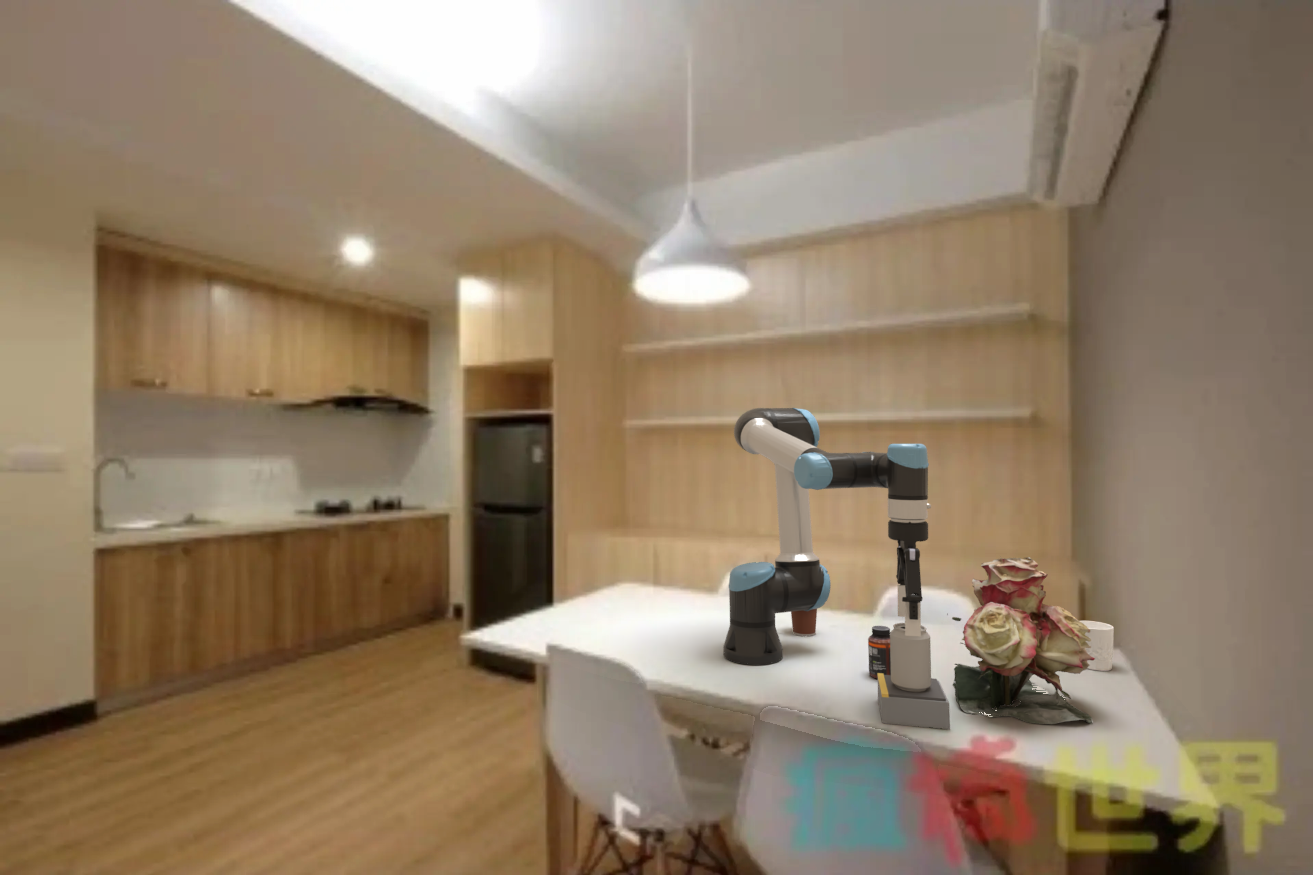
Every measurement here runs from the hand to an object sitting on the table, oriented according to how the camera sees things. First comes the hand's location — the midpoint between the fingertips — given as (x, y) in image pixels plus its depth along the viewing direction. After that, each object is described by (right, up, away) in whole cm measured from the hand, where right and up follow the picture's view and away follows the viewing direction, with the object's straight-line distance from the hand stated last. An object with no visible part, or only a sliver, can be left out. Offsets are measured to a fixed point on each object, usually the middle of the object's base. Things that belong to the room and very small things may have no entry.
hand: (908, 625), depth 128 cm
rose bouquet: (+25, -18, +5) cm, 31 cm away
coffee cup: (-8, -19, +56) cm, 60 cm away
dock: (0, -17, -1) cm, 17 cm away
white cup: (+55, -18, +26) cm, 63 cm away
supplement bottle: (+2, -18, +21) cm, 27 cm away
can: (0, -12, -1) cm, 12 cm away
